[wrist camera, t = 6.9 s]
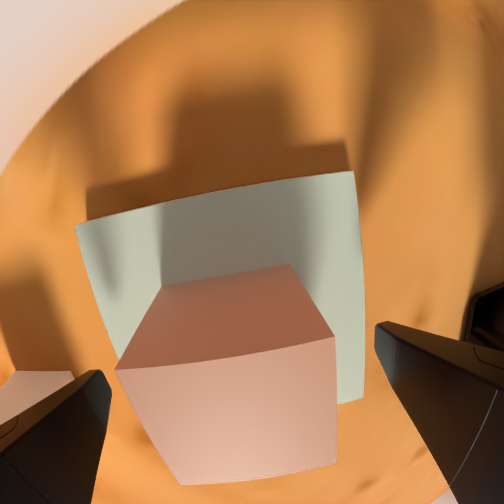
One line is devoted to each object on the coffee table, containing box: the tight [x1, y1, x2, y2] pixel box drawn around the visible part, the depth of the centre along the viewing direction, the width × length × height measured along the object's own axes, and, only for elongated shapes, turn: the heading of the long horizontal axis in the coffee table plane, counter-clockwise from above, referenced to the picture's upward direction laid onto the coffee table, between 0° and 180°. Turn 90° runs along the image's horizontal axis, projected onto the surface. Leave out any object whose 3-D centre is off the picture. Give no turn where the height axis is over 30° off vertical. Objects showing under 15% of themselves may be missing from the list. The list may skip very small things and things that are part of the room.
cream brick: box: [0, 371, 107, 433], centre depth 10 cm, size 4×4×5 cm
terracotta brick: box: [115, 264, 337, 485], centre depth 8 cm, size 4×4×5 cm
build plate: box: [75, 171, 365, 405], centre depth 11 cm, size 10×10×1 cm
